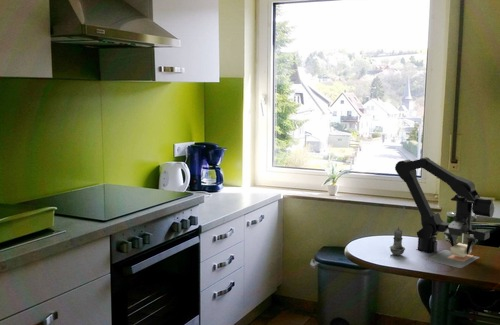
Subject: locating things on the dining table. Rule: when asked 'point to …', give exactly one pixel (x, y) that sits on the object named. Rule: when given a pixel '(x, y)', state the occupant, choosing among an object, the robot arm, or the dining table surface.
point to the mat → (452, 259)
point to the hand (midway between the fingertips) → (460, 252)
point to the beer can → (450, 219)
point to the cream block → (459, 250)
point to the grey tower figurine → (397, 243)
